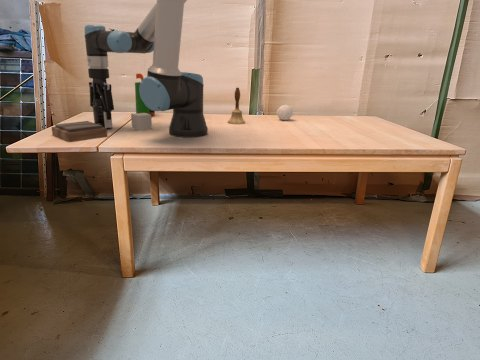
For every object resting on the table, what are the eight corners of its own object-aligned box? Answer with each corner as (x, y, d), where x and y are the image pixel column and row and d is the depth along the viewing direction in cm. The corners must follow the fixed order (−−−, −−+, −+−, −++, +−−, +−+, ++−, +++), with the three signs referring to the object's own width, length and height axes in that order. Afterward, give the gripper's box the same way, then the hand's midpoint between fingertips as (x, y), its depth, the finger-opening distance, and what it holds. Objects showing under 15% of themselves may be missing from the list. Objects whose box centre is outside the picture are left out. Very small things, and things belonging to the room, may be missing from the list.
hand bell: (248, 123, 171) (249, 88, 166) (232, 124, 167) (233, 88, 162) (240, 120, 178) (241, 86, 173) (224, 121, 174) (225, 86, 169)
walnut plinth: (107, 136, 136) (106, 125, 135) (69, 141, 127) (67, 130, 125) (89, 130, 145) (88, 120, 144) (52, 135, 135) (51, 124, 134)
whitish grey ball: (288, 118, 188) (289, 103, 185) (295, 121, 181) (296, 105, 178) (273, 119, 185) (274, 103, 182) (280, 121, 178) (281, 105, 176)
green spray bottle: (156, 117, 179) (154, 74, 173) (137, 117, 176) (135, 74, 169) (153, 113, 188) (151, 73, 182) (135, 114, 185) (132, 72, 178)
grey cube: (131, 128, 153) (131, 113, 151) (145, 127, 156) (144, 112, 154) (138, 130, 148) (137, 115, 146) (151, 129, 152) (151, 114, 150)
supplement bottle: (99, 125, 155) (97, 96, 151) (115, 126, 154) (113, 97, 150) (91, 128, 149) (88, 98, 145) (107, 129, 148) (104, 99, 144)
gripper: (77, 66, 148) (83, 123, 155) (102, 69, 135) (107, 131, 142) (94, 66, 153) (99, 121, 160) (120, 69, 140) (125, 128, 147)
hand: (103, 125), depth 151 cm, fingers open, 8 cm apart
